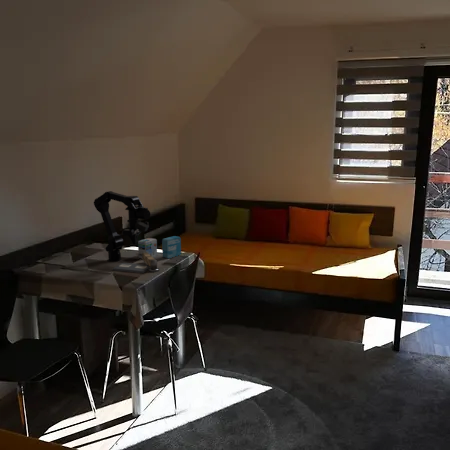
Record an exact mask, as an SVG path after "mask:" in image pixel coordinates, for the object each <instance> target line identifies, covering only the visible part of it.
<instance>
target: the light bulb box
mask: <svg viewBox="0 0 450 450" xmlns="http://www.w3.org/2000/svg"><path fill="white" fill-rule="evenodd" d="M137 247H138V248H137V249H138V250H137V251H138V258H139V259H142V253H146V252H147V253H148V254H150V255H151V256H152V257H153V258H154V257H157V256H158V239H156V238H152V237H148V238H145V239H141V240H137Z"/></svg>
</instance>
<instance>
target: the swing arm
mask: <svg viewBox="0 0 450 450" xmlns="http://www.w3.org/2000/svg"><path fill="white" fill-rule="evenodd" d="M141 259H142V261H143V262H145V263H146V265H149V266H150V267H151V269H157V268H158V260H157V259H156V258H154V257H152V256H151V255H150V254H148V253H147V252H146V253H142V258H141Z"/></svg>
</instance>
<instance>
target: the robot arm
mask: <svg viewBox="0 0 450 450" xmlns="http://www.w3.org/2000/svg"><path fill="white" fill-rule="evenodd" d="M112 200H113V201H116V202H119V203H123V204H124V206H127V207H125V209H124V210H125V211H127V212H128V219H127V221H126V222H127V223H128V227H127V228H125V229H123V230H122V231H121V234H119V233H118V232H117V230H116V227H115V225H114V222H113V219H112V216H111V214H110V202H111V201H112ZM93 206H94V207H95V210H96V211H97V212H99V214H100V216H101V218H102V221H103V224H104V227H105V230H106V231H107V235H108V236H107V237H108V238H107V242H108V243H107V246H105V252H107V253H108V254H107V255H108V256H107V257H108V259H107V262H116V263H117V262H119V261H121V260H122V253H121V250H122V248H123V246H124V239H123V236H128V237H129V238H130V240H131V242H132V244H133V245H136V244H137V242H138V237H139V235H140V234H142V232H143V233H145V232H147V231H148V230H149V228H150V225H149V224H150V223H149V221H147V220H149V219H150V217H151V211H150V210H149V208H148V207H144V205H143V203H142V201H141V199H140V197H139V196H137V195H125V194H123V193H117V192H114V191H113V190H110V191H105V192H103V194H101V195H100V196H98V197H96V198H95V199H94V201H93ZM141 220H145V222H141Z"/></svg>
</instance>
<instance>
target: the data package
mask: <svg viewBox="0 0 450 450" xmlns="http://www.w3.org/2000/svg"><path fill="white" fill-rule="evenodd" d="M181 242H182V238H181V237H180V236H178V235H177V236H176V235H173V236H169V237H166V238H162V239H161V243H162V244H161V247H162V248H161V249H162V258H166V259H173V258H176V257H179V256H181V254H182V243H181ZM178 255H179V256H178ZM175 256H176V257H175ZM172 257H173V258H172Z"/></svg>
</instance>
